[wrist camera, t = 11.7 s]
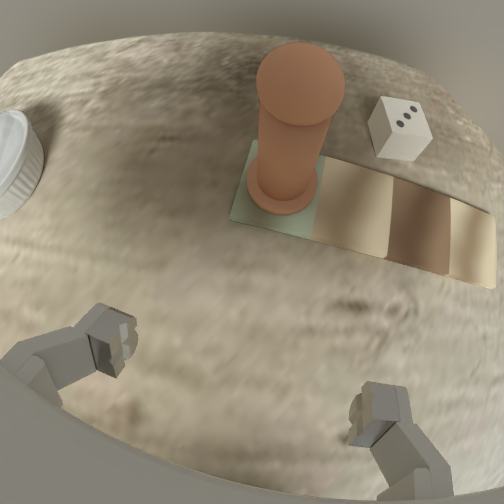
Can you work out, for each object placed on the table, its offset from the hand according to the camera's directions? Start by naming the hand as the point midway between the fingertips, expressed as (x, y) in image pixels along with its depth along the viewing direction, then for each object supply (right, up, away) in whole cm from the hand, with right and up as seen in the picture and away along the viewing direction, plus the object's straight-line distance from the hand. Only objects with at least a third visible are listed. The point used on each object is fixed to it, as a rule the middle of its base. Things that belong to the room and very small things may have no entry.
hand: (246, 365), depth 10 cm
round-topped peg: (+2, +9, +13) cm, 16 cm away
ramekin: (-25, +11, +15) cm, 31 cm away
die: (+13, +14, +16) cm, 25 cm away
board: (+11, +7, +13) cm, 19 cm away
